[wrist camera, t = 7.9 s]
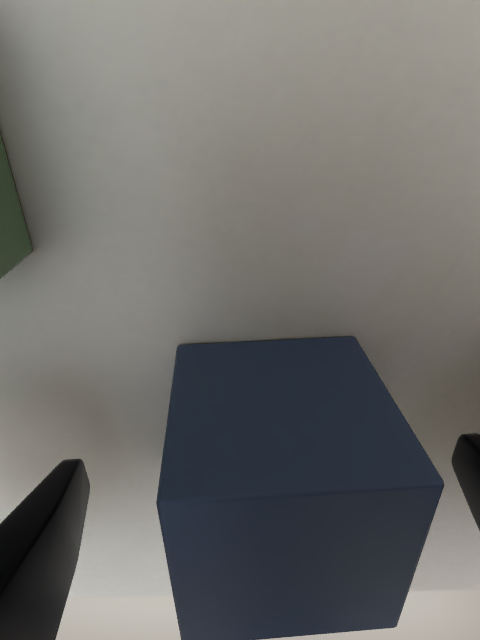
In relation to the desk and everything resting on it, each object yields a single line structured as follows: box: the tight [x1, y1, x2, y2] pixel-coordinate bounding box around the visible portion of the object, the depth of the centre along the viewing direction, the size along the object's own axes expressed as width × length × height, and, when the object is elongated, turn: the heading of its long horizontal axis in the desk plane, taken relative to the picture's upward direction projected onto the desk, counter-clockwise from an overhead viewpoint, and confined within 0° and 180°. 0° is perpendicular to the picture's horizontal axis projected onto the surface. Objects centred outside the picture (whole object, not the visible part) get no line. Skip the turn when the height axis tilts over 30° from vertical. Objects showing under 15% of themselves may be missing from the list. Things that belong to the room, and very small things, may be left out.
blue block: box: [156, 336, 444, 640], centre depth 9 cm, size 4×4×4 cm
